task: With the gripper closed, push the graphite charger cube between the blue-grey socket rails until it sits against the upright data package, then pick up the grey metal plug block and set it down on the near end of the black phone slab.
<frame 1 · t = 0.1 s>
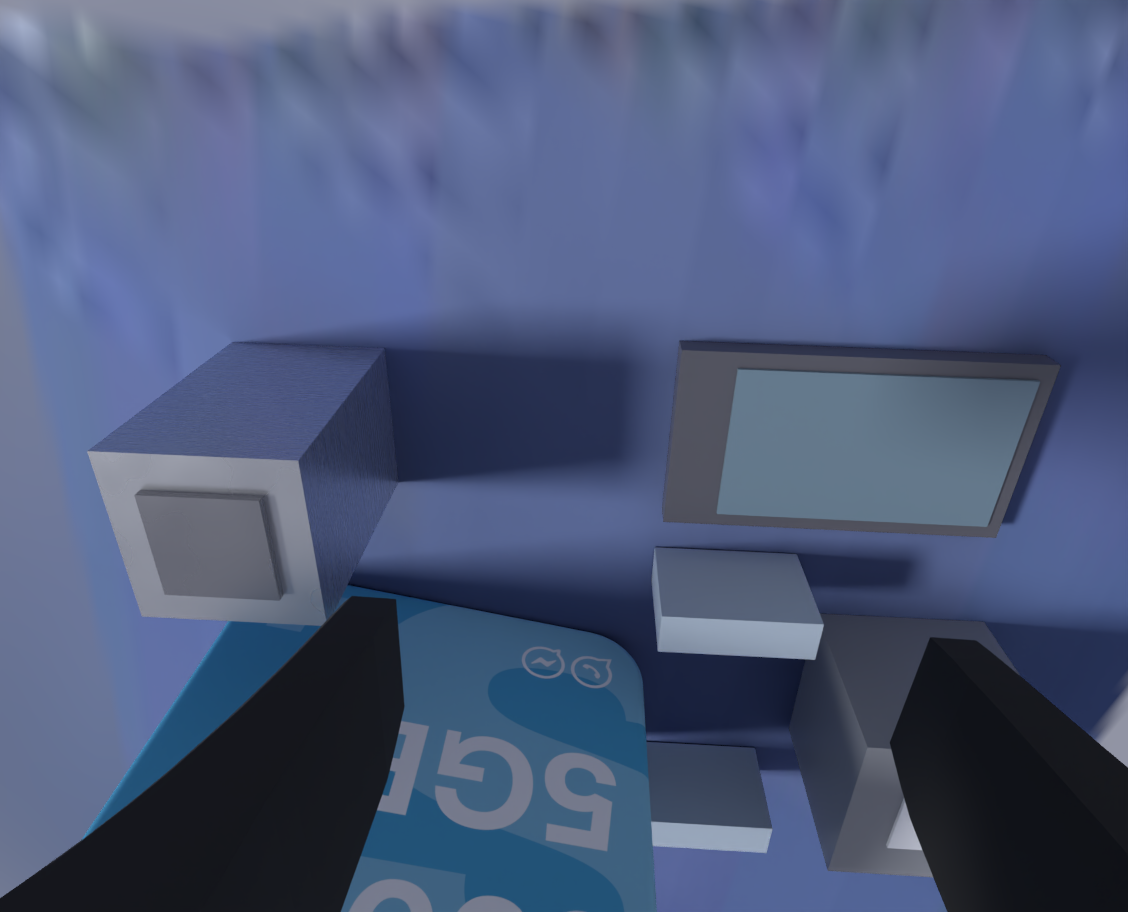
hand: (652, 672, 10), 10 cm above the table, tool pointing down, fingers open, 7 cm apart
charger cube: (880, 675, 23), on the table
data package: (447, 650, 24), on the table
metal plug: (319, 415, 20), on the table
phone: (834, 428, 20), on the table
socket rails: (706, 669, 23), on the table
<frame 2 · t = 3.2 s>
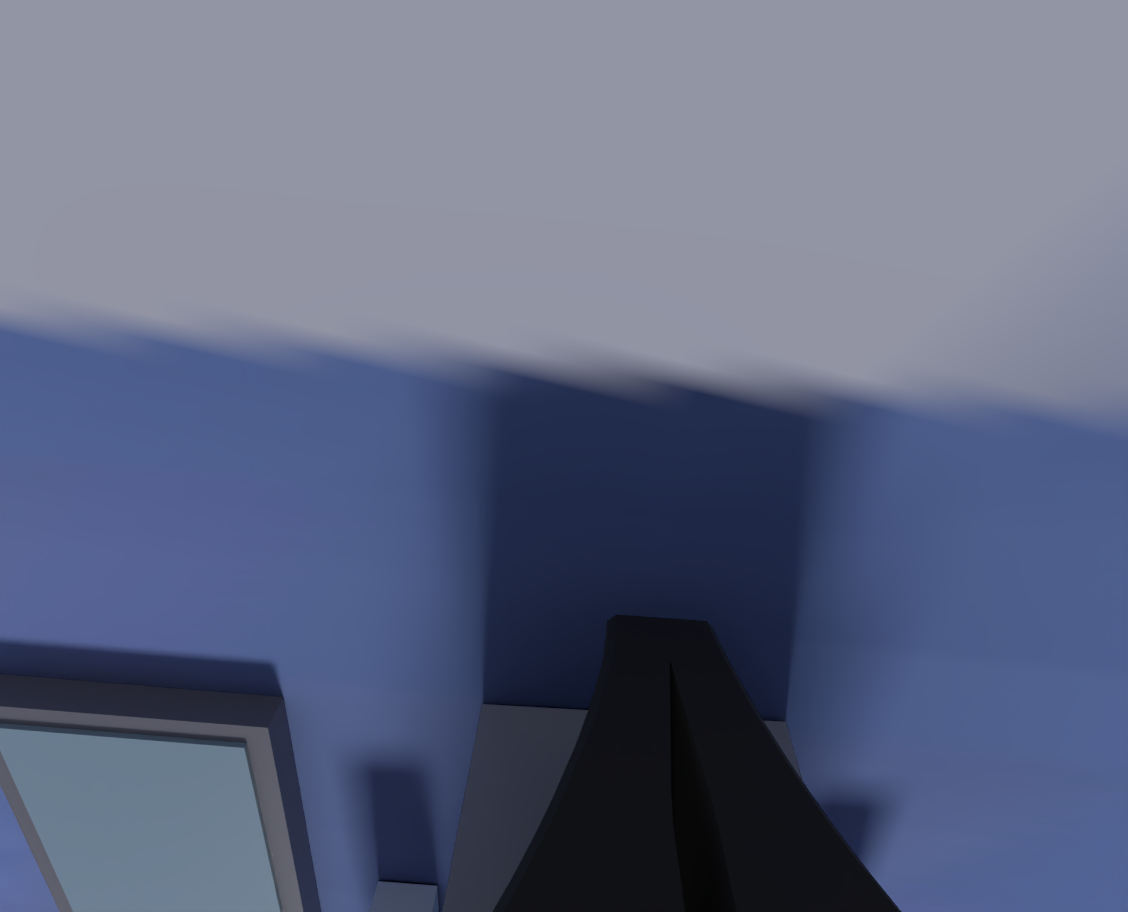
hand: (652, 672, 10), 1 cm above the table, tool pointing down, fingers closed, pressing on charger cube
charger cube: (623, 810, 13), on the table, touching gripper
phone: (200, 824, 15), on the table
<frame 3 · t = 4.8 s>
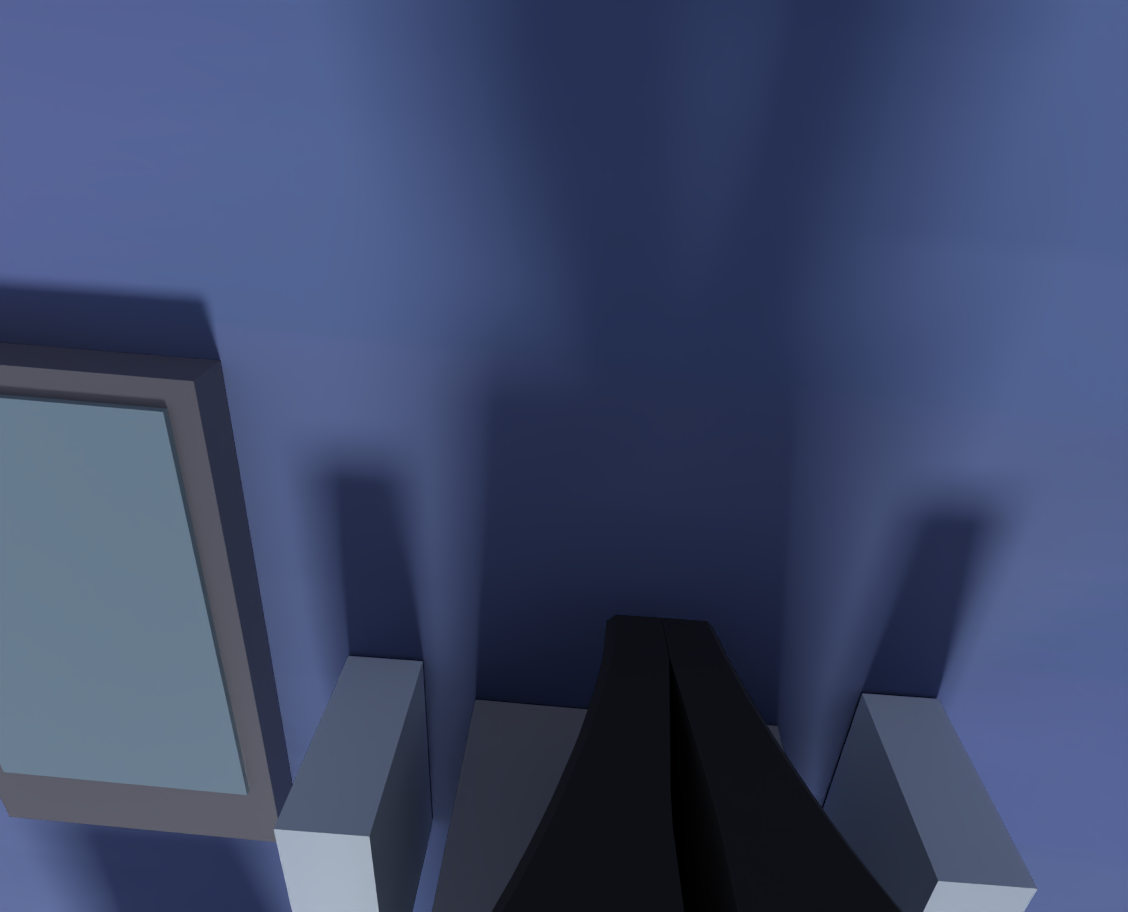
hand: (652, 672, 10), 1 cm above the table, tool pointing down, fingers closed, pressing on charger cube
charger cube: (611, 809, 13), on the table, touching data package, gripper
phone: (129, 591, 12), on the table
socket rails: (629, 763, 13), on the table
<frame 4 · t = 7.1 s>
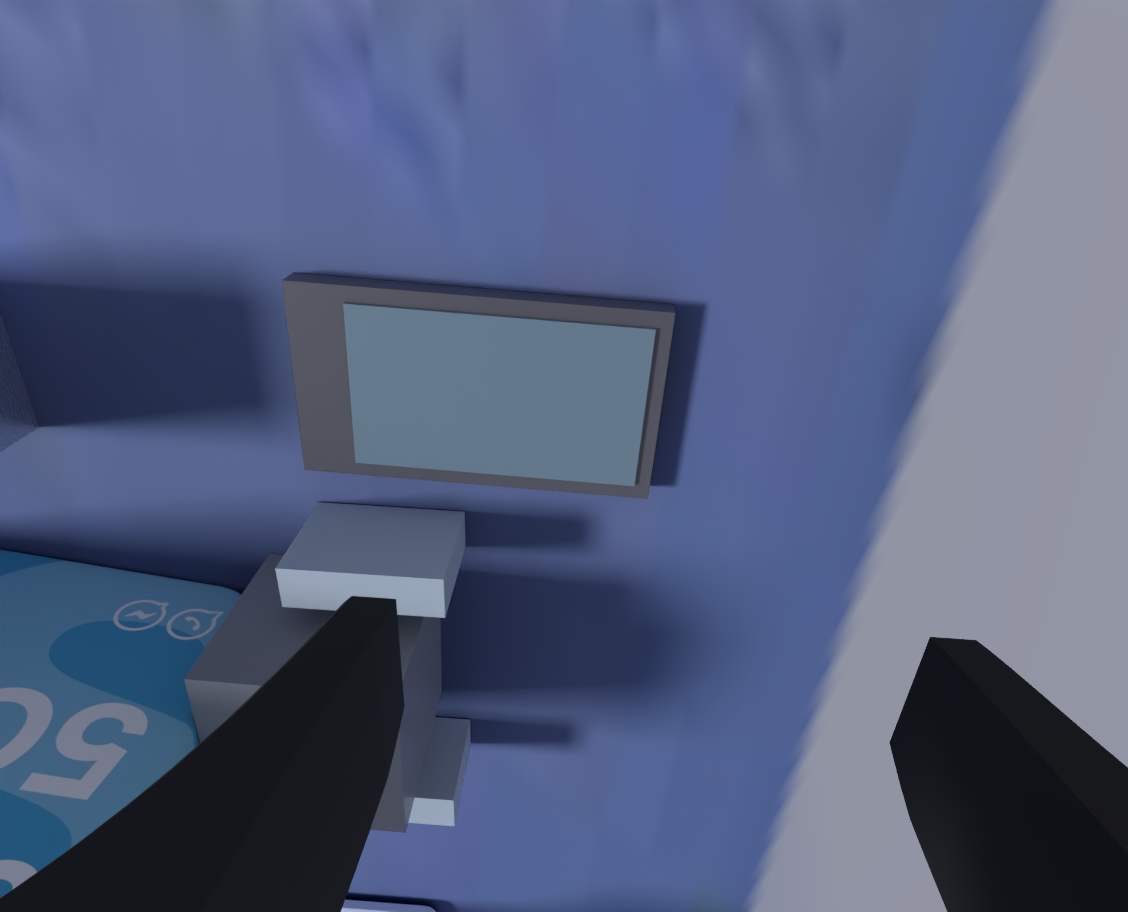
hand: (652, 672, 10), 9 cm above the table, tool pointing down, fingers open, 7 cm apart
charger cube: (360, 624, 22), on the table
data package: (89, 610, 23), on the table
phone: (484, 377, 19), on the table
socket rails: (401, 635, 22), on the table
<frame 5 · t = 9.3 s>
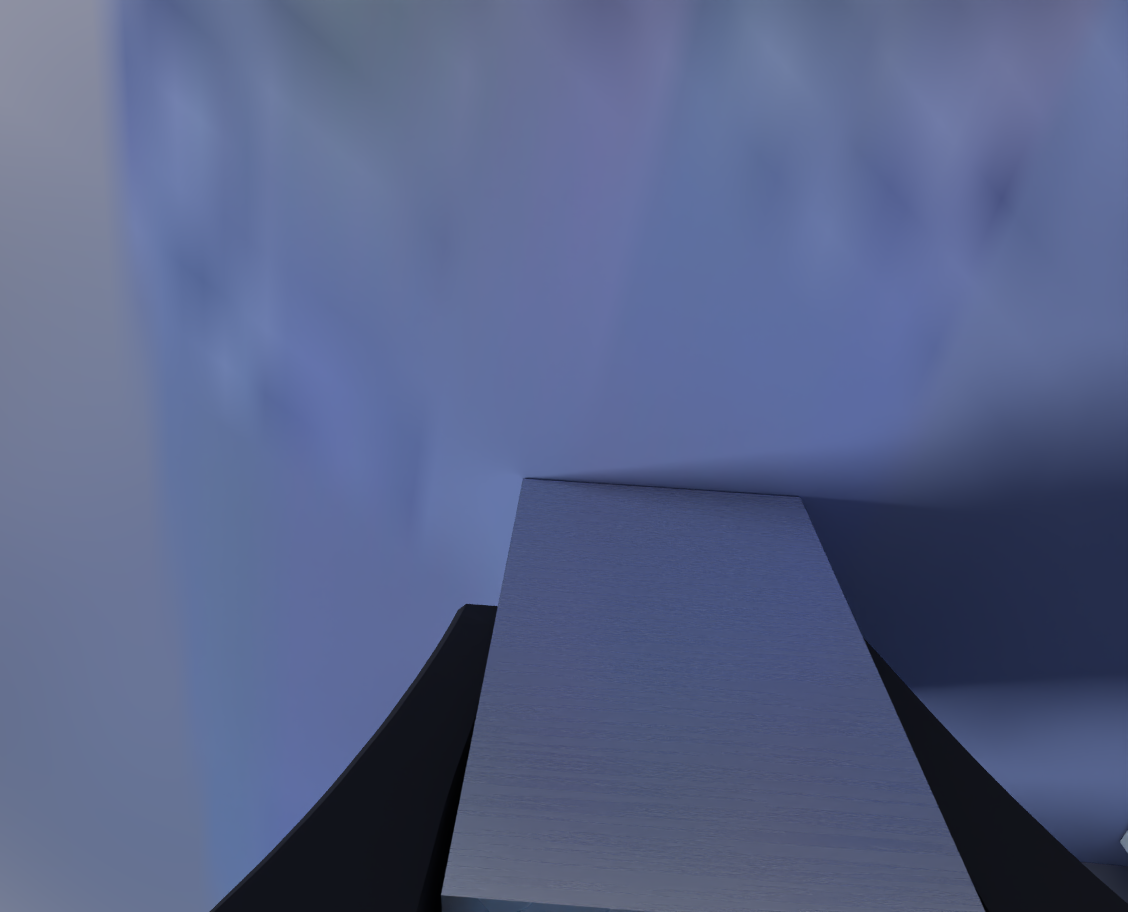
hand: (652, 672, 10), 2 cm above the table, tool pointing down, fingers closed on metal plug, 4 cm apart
metal plug: (646, 596, 11), on the table, touching gripper
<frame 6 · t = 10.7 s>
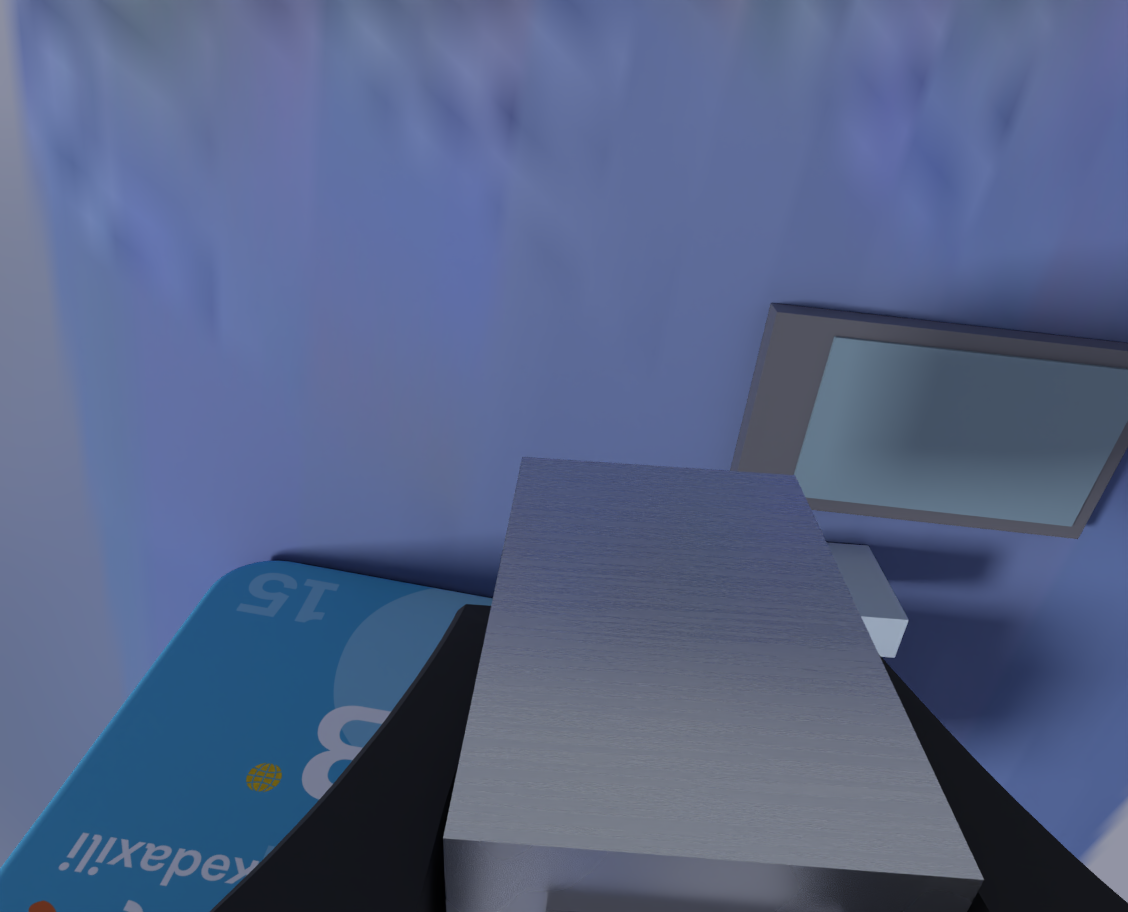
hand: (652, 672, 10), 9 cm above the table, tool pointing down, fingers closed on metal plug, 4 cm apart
data package: (434, 637, 23), on the table
metal plug: (644, 575, 12), point 7 cm above the table, touching gripper
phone: (919, 412, 18), on the table
socket rails: (760, 666, 22), on the table
when the fingers open (4 cm above the table, at t = 12.4 s): metal plug drops 1 cm, point 1 cm above the table.
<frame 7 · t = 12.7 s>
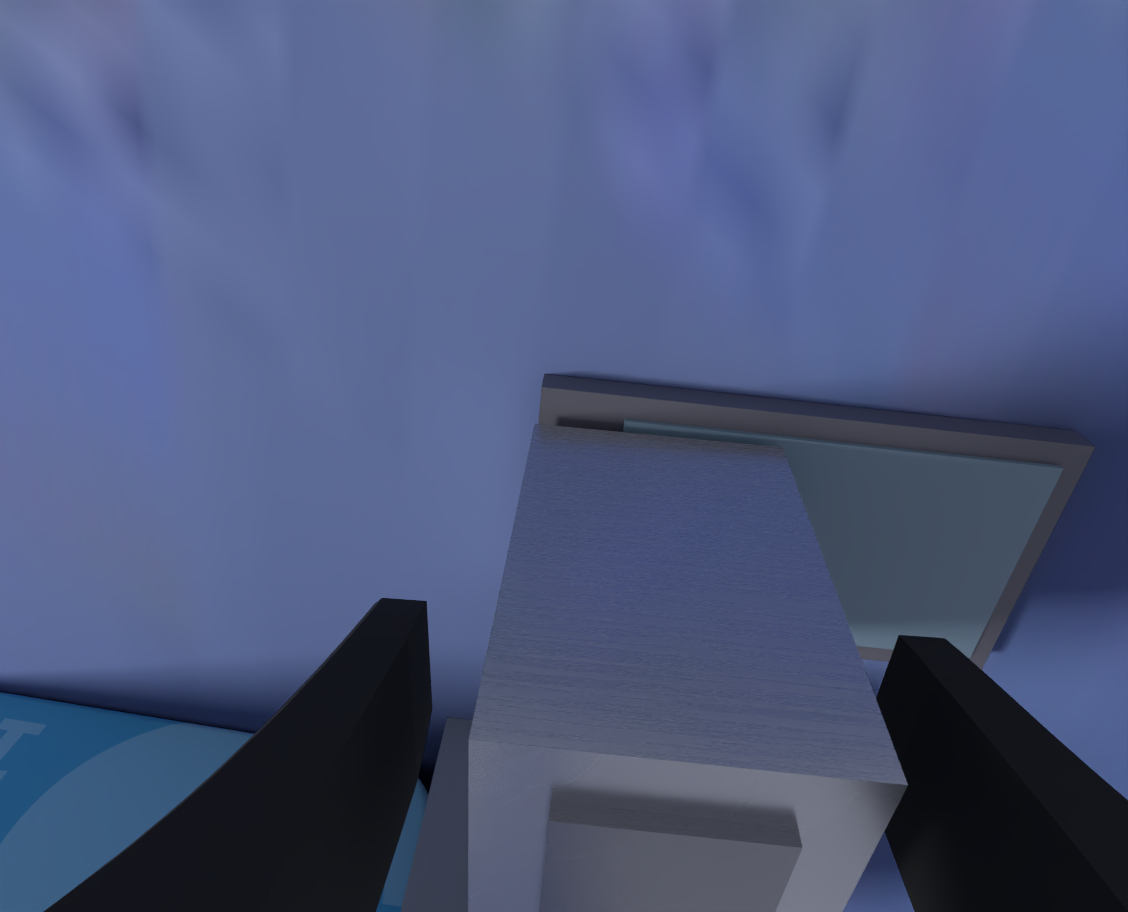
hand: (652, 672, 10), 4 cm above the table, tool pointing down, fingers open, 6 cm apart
charger cube: (550, 796, 18), on the table
data package: (200, 773, 18), on the table
metal plug: (642, 533, 13), point 1 cm above the table
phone: (768, 506, 14), on the table
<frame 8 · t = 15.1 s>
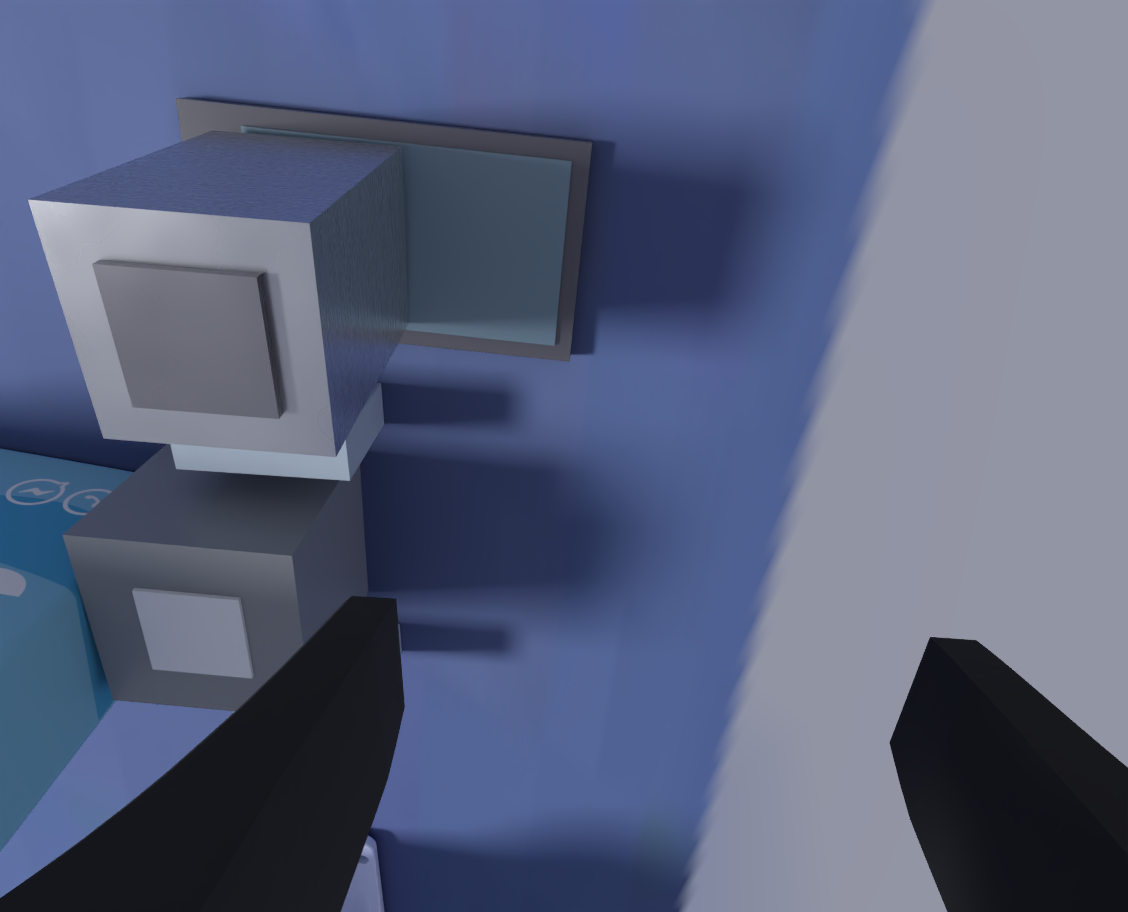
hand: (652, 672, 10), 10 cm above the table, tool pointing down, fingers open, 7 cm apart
charger cube: (279, 515, 21), on the table
metal plug: (317, 233, 17), point 1 cm above the table, touching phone
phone: (399, 229, 18), on the table, touching metal plug
socket rails: (323, 526, 21), on the table
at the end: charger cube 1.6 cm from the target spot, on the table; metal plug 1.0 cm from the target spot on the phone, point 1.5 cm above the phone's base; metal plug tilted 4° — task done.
